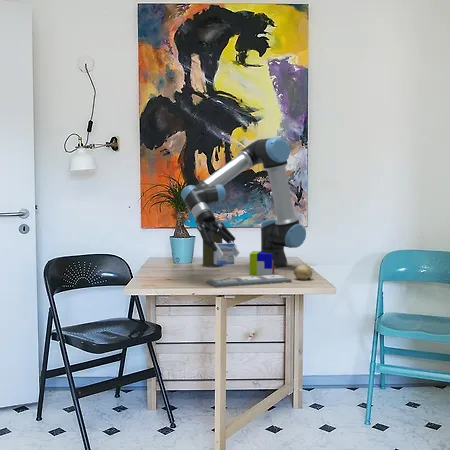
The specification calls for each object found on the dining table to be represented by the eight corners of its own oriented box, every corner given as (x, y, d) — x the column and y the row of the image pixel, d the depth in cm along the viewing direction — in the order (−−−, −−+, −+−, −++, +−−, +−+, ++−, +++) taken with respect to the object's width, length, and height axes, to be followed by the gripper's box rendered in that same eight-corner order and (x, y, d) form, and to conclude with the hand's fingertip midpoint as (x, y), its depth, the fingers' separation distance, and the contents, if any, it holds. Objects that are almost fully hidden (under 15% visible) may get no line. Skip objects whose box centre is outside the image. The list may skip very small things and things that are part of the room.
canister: (221, 267, 283) (220, 227, 282) (200, 266, 285) (200, 227, 283) (224, 264, 294) (224, 226, 292) (204, 263, 295) (204, 225, 294)
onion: (315, 280, 243) (315, 264, 243) (297, 281, 241) (297, 264, 241) (308, 277, 251) (308, 261, 250) (291, 278, 249) (291, 262, 249)
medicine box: (216, 265, 231) (216, 244, 231) (213, 263, 236) (213, 243, 235) (234, 264, 234) (234, 243, 233) (231, 263, 238) (231, 242, 237)
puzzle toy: (271, 276, 255) (271, 254, 255) (249, 275, 257) (249, 253, 257) (274, 272, 265) (274, 251, 265) (253, 272, 267) (253, 251, 267)
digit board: (279, 277, 250) (279, 273, 250) (291, 282, 239) (291, 277, 239) (206, 282, 239) (206, 278, 239) (215, 287, 228) (215, 282, 227)
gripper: (217, 220, 252) (243, 259, 242) (180, 222, 237) (205, 263, 227) (225, 208, 248) (252, 247, 237) (188, 210, 233) (215, 251, 222)
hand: (229, 255), depth 232 cm, fingers closed on medicine box, 9 cm apart
